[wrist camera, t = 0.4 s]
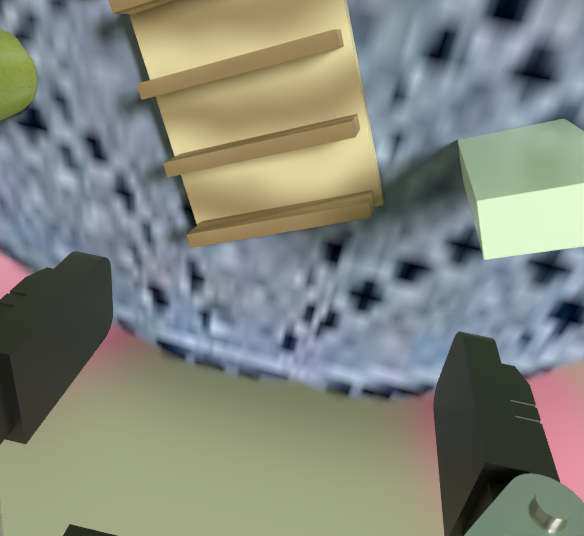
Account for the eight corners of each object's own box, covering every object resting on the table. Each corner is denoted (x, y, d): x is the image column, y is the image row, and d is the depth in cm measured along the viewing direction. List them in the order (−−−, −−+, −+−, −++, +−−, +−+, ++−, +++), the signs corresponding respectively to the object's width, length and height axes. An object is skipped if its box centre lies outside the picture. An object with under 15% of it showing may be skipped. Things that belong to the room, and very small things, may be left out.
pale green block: (457, 139, 36) (476, 200, 23) (564, 118, 34) (647, 172, 21) (462, 180, 37) (484, 259, 24) (566, 161, 35) (647, 237, 22)
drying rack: (134, -3, 37) (98, -6, 33) (333, -69, 32) (321, -82, 28) (207, 230, 43) (185, 251, 39) (384, 199, 38) (379, 219, 34)
